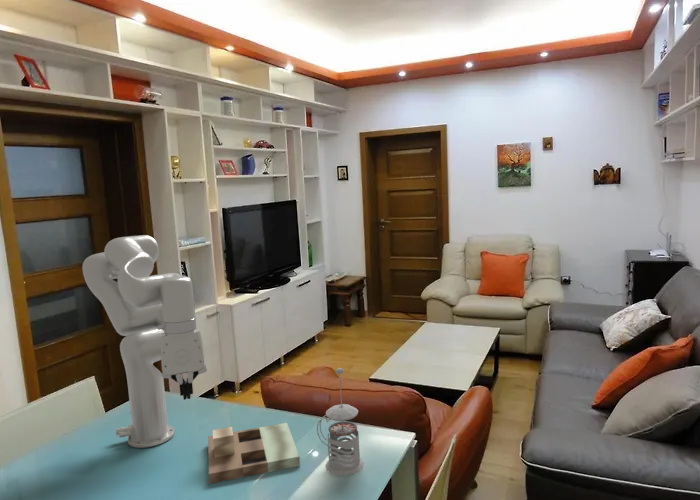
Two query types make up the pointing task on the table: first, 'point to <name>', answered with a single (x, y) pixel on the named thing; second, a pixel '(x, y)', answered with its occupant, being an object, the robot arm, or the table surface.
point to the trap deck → (254, 453)
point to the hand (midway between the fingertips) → (187, 397)
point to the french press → (345, 457)
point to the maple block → (223, 442)
